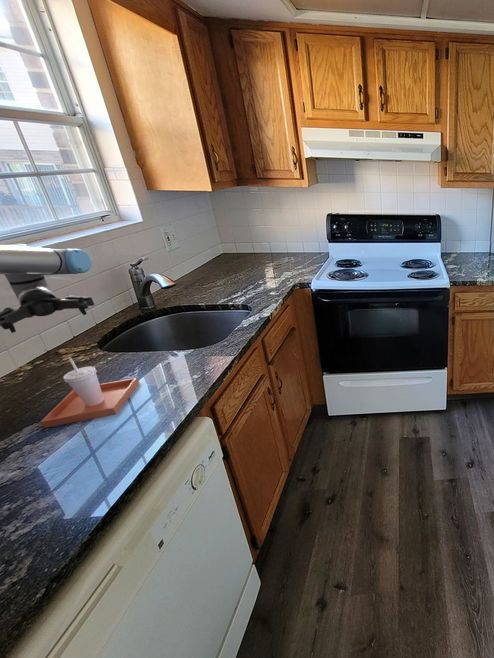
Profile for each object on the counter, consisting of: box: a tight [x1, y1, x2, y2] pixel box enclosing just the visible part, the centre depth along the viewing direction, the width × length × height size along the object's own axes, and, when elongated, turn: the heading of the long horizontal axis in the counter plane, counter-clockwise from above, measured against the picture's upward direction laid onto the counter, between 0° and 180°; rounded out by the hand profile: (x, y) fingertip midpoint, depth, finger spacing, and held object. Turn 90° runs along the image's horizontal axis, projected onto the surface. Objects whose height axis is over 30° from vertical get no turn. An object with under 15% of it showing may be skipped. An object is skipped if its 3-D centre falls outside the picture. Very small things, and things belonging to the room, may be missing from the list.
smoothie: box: [62, 357, 104, 406], centre depth 98 cm, size 6×6×14 cm
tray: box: [40, 377, 140, 429], centre depth 100 cm, size 15×15×2 cm
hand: (48, 318), depth 96 cm, fingers open, 13 cm apart
